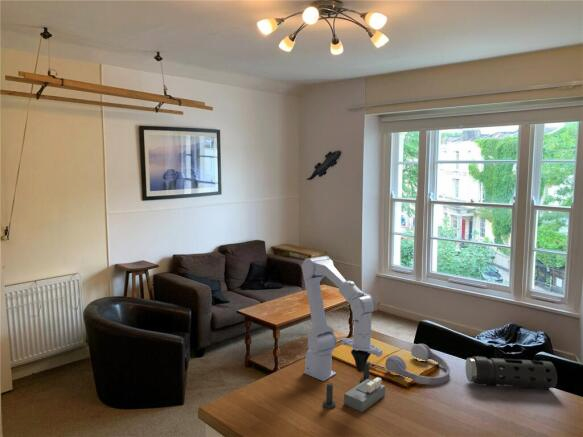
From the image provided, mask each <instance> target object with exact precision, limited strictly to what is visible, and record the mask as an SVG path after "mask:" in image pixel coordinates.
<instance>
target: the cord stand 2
mask: <svg viewBox="0 0 583 437" xmlns="http://www.w3.org/2000/svg"><path fill="white" fill-rule="evenodd" d="M366 379H369V380H372V381H373V379H372V378H371V377H370V362H369V361H367V362H366V365H365V368H364V371H363V376H362V377H360V383H362V382H363V381H365V380H366Z"/></svg>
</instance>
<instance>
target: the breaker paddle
mask: <svg viewBox="0 0 583 437" xmlns="http://www.w3.org/2000/svg"><path fill="white" fill-rule="evenodd" d="M374 390H375V382H373V380H372V381H370V382H369V383H367V384H366V391H367V392H369V393H371V392H372V391H374Z"/></svg>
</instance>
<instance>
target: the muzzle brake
mask: <svg viewBox="0 0 583 437" xmlns="http://www.w3.org/2000/svg"><path fill="white" fill-rule="evenodd" d="M546 370H547V371H546ZM465 375H466V379H467V381H468V382H469V383H473V384H474V385H481V386H482V385H483V386H485V387H494V388H496V387H497V386H509V387H511V386H512V387H513V388H521V389H533V390H546V391H547V390H548V391H549V390H550V389H554V388H555V387H557V383H558V374H557V370H556V367H555V365H554V363H553V362H552V361H549V360H548V361H547V360H533V359H532V360H530V359H529V360H528V359H516V358H514V359H513V358H501V357H500V358H498V357H495V358H494V357H490V358H487V357H486V356H479V355H477V356H476V355H475V356H472V357H467V358H466V359H465Z"/></svg>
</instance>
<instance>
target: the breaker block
mask: <svg viewBox="0 0 583 437" xmlns="http://www.w3.org/2000/svg"><path fill="white" fill-rule="evenodd" d="M370 381H373V382H375V390H374V391H372V392H371V393H369V392H367V391H366V384H367V383H369V382H370ZM343 395H344V396H343V404H344V405H346V406H348V407H350V408H351V409H352V408H353V409H354V410H356V411H359V412H361V413H363V412H364V411H366V410H367V409H368V408H370V407H372V405H374V404H375V403H377V402H378V401H379V400H381V399H383V397H385V396H386V385H384V384H382V378H381V377H378V376H377V377H375V378H374V379H372V380H369V379H366V380H365V381H363V382H362V383H361V382H360V383H359V384H357V385H355V386H354V387H353V388H351V389H349V390H348V391H346V392H345V393H344V394H343Z"/></svg>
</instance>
